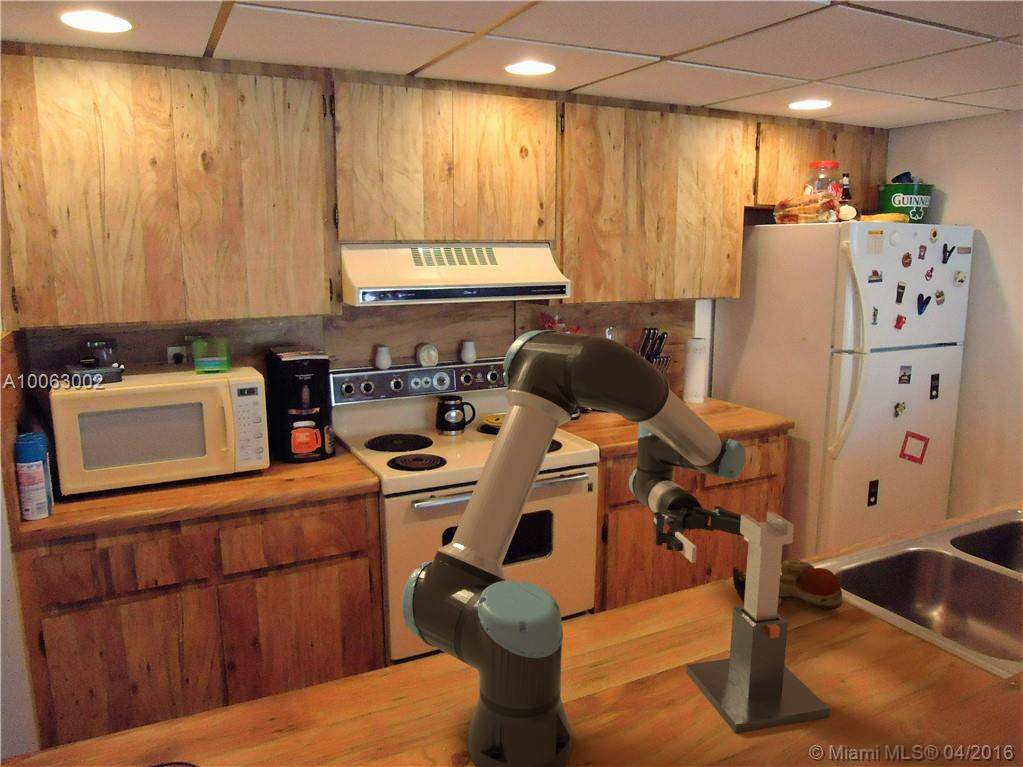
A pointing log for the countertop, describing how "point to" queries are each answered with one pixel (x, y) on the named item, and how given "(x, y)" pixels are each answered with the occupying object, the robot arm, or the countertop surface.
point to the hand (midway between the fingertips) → (731, 550)
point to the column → (764, 564)
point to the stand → (756, 679)
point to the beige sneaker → (801, 585)
